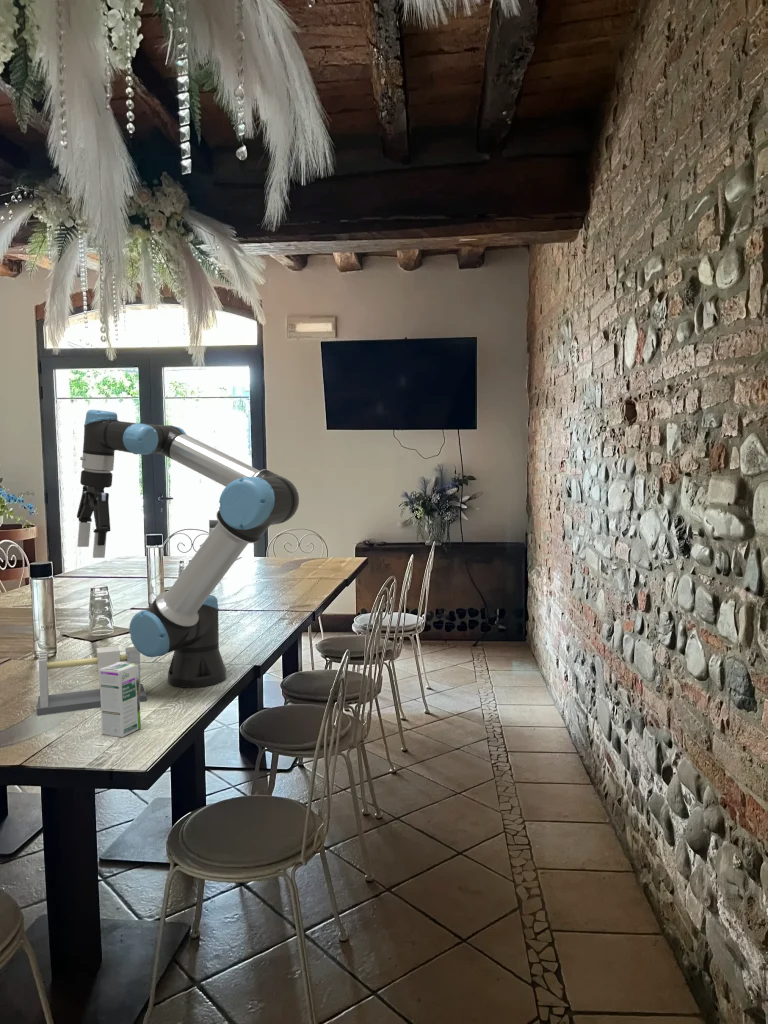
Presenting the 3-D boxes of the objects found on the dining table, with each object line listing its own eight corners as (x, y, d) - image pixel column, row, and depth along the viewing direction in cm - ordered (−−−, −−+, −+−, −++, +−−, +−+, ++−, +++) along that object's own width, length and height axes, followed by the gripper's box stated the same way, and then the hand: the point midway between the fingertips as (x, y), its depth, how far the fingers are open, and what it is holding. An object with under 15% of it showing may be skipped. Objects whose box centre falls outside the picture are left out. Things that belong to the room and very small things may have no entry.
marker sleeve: (118, 665, 177) (118, 645, 177) (120, 670, 172) (119, 650, 172) (97, 668, 175) (96, 648, 174) (98, 673, 170) (97, 652, 170)
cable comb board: (142, 689, 182) (141, 641, 181) (146, 701, 173) (145, 650, 172) (38, 702, 172) (36, 651, 171) (37, 715, 163) (35, 661, 162)
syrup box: (122, 738, 149) (120, 670, 148) (100, 734, 151) (98, 667, 150) (141, 728, 154) (139, 663, 154) (119, 725, 157) (118, 660, 156)
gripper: (68, 464, 189) (62, 542, 191) (96, 476, 170) (89, 562, 172) (97, 466, 194) (91, 542, 196) (128, 477, 174) (121, 562, 177)
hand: (90, 552), depth 184 cm, fingers open, 13 cm apart
